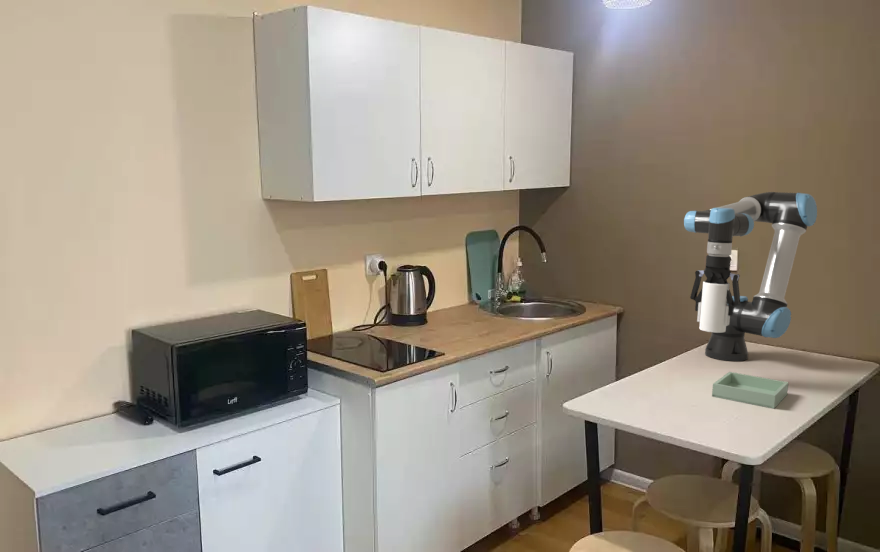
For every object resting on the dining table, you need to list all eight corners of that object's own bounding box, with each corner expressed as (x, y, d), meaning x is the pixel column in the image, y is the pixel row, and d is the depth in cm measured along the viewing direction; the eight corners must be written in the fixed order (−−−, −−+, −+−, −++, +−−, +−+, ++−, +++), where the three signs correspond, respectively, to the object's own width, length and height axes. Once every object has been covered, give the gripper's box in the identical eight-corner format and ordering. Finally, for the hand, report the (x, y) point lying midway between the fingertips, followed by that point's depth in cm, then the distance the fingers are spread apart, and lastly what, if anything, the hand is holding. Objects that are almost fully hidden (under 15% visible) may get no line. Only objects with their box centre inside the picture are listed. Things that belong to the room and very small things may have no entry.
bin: (728, 383, 239) (729, 371, 238) (787, 394, 228) (788, 382, 228) (711, 396, 225) (712, 383, 224) (773, 408, 214) (775, 395, 214)
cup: (721, 328, 244) (726, 281, 241) (728, 333, 236) (732, 284, 233) (696, 326, 245) (700, 280, 242) (702, 331, 237) (706, 283, 234)
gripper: (682, 253, 240) (677, 320, 243) (749, 259, 227) (742, 329, 230) (690, 251, 246) (685, 316, 249) (755, 257, 233) (749, 326, 236)
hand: (713, 323), depth 240 cm, fingers closed on cup, 8 cm apart
